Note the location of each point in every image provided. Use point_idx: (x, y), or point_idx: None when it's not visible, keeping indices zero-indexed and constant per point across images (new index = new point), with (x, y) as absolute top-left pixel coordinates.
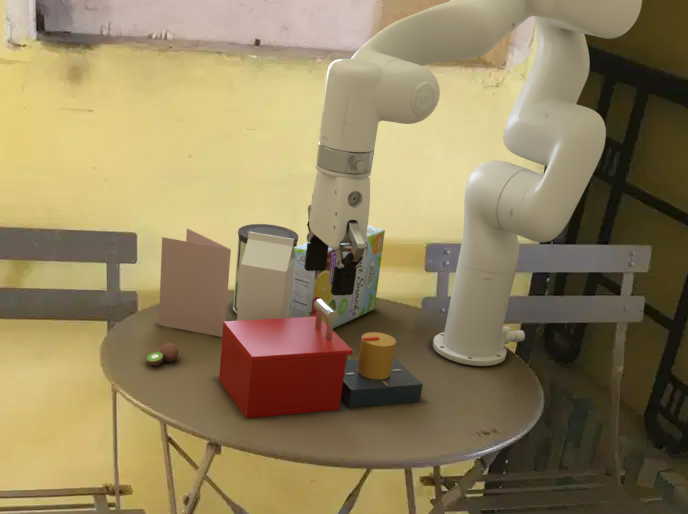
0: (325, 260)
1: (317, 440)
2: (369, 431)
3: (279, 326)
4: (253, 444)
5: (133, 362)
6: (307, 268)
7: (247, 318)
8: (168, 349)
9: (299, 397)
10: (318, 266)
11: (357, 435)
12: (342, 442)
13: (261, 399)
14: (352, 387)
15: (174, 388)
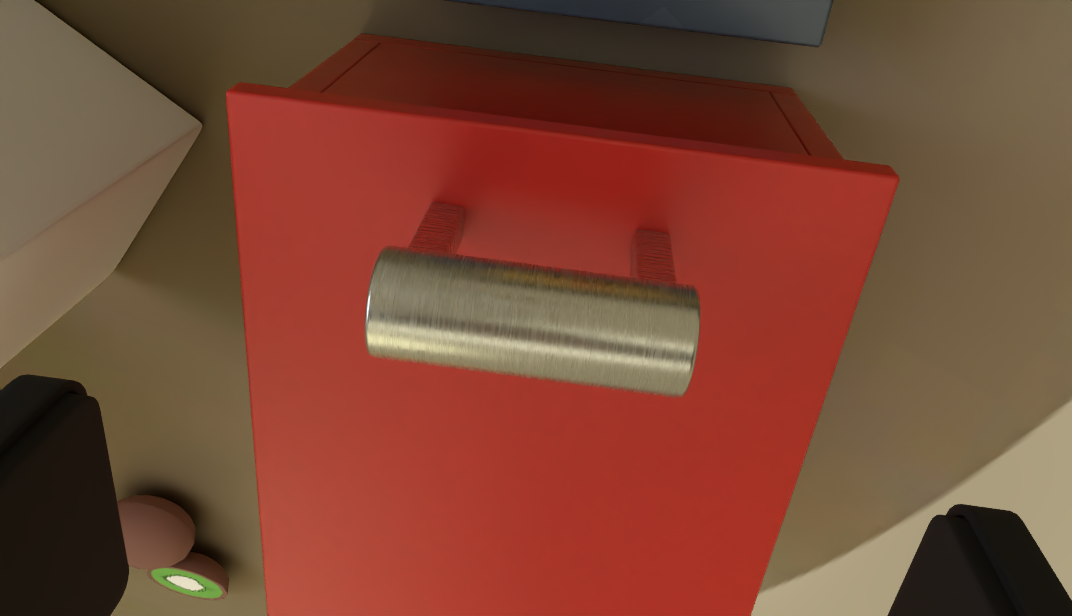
0: (7, 488)
1: (982, 328)
2: (1059, 59)
3: (378, 435)
4: (875, 532)
5: (180, 603)
6: (115, 597)
7: (16, 339)
8: (164, 562)
9: None
10: (79, 504)
11: (1053, 141)
12: (1061, 242)
13: None
14: (797, 25)
15: None
